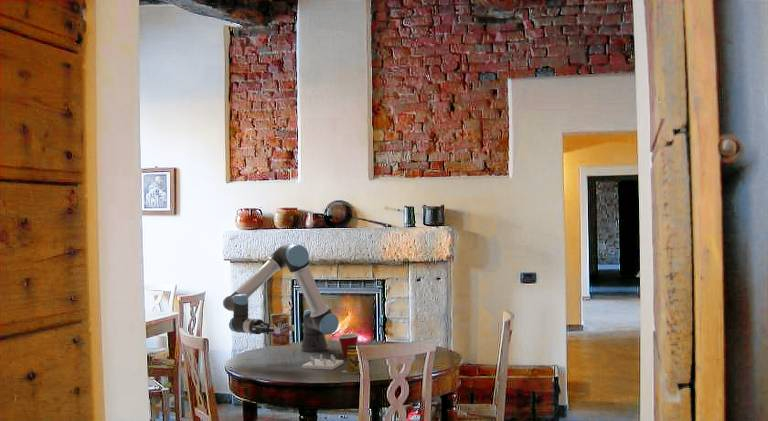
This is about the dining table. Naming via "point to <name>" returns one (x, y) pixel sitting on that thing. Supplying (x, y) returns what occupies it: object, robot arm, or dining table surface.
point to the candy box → (283, 324)
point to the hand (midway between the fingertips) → (286, 329)
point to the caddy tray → (322, 363)
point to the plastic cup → (347, 342)
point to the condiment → (352, 360)
